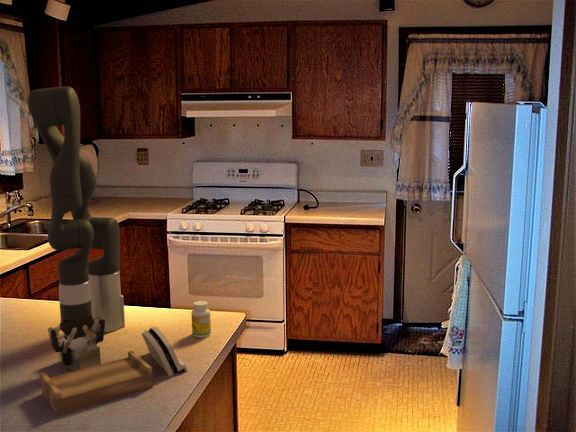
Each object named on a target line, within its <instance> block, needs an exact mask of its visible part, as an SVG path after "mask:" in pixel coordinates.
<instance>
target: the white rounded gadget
mask: <svg viewBox="0 0 576 432" xmlns="http://www.w3.org/2000/svg"><path fill="white" fill-rule="evenodd" d="M141 336H142V337H143V340H144V343H145V344H146V348H147V350H148V352H149V353H150V355H151V354H152V355H151V356H152V357H153V358H154V360H155V361H156V362H157V363H158V364H159V366H160V367H161V368H162V369H163V371H164V372H165V373H166V374H167V375H168V376H169V377H171V376H173V375H175V374H174V373H175V371H176V372H180V371H182V370H184V371H185V372H186V373H187V371H188V372H189V370H188V368H187V365H186V364H185V363H184V362H183V361H182V360H181V359H180V358H179V357H178V355H176V351H175V350H174V347H173V346H172V344H171V343H170V341H169V340H168V339H167V337H166V335H164V333H163V332H162V331H161V330H160V329H159V328H158V327H157V326H152V327H149V329H148V330H144V331H143V332H141Z"/></svg>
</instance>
